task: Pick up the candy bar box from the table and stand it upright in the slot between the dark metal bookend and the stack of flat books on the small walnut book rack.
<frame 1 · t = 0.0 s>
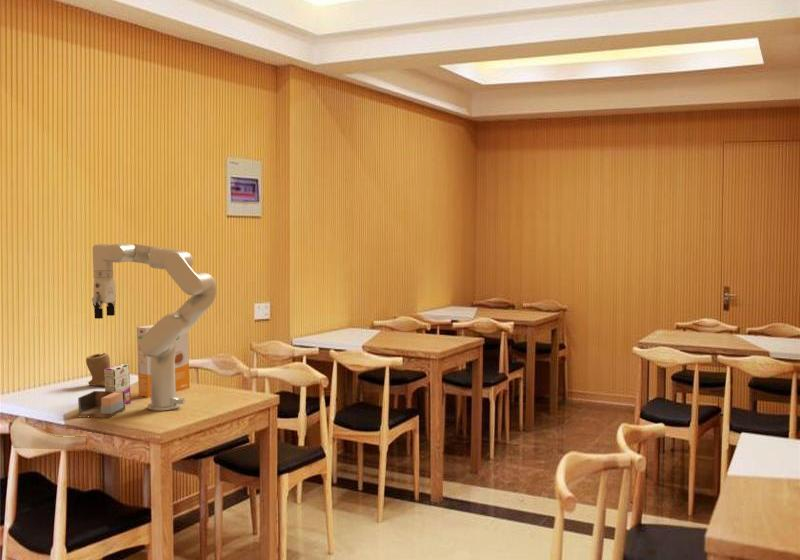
hand: (104, 316, 311), 37 cm above the table, tool pointing down, fingers open, 9 cm apart
candy bar box: (118, 406, 314), on the table
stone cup: (103, 386, 354), on the table
cereal box: (164, 392, 340), on the table
book rack: (102, 413, 301), on the table
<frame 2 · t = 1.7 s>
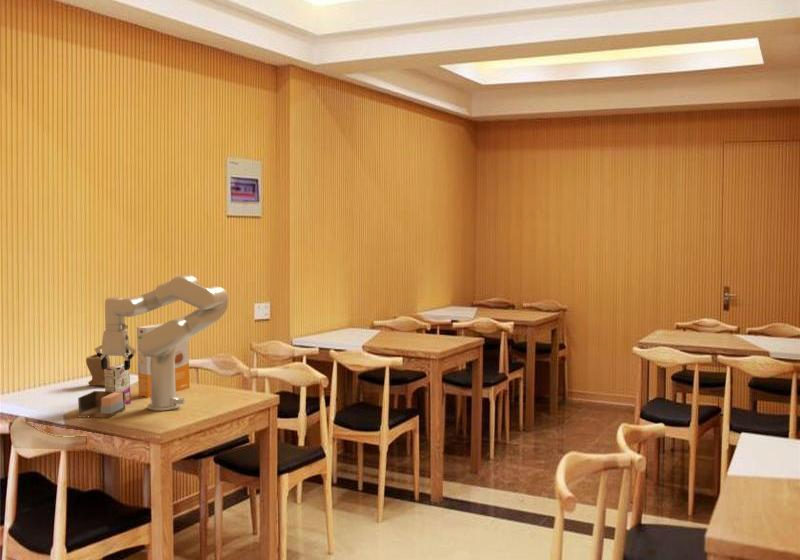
hand: (115, 369, 313), 15 cm above the table, tool pointing down, fingers open, 9 cm apart
nothing on the table moved.
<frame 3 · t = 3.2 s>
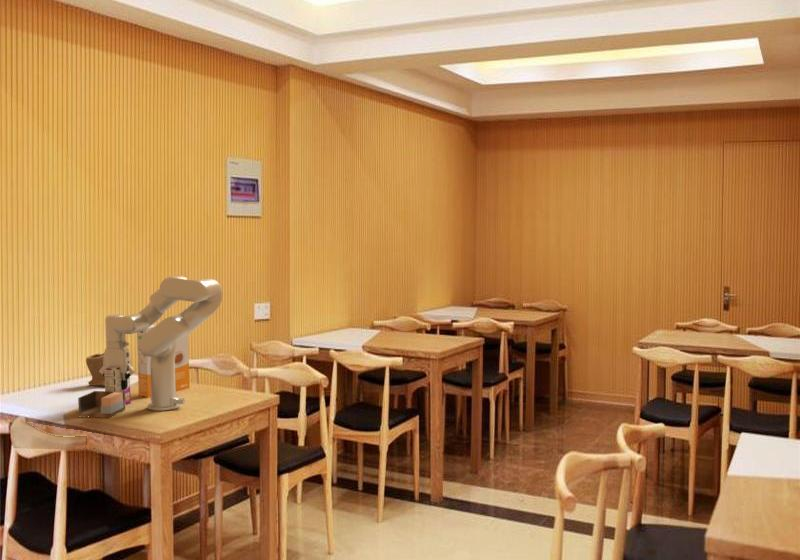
hand: (117, 388, 314), 7 cm above the table, tool pointing down, fingers closed on candy bar box, 5 cm apart
candy bar box: (118, 406, 314), on the table, touching gripper
everything else where it was.
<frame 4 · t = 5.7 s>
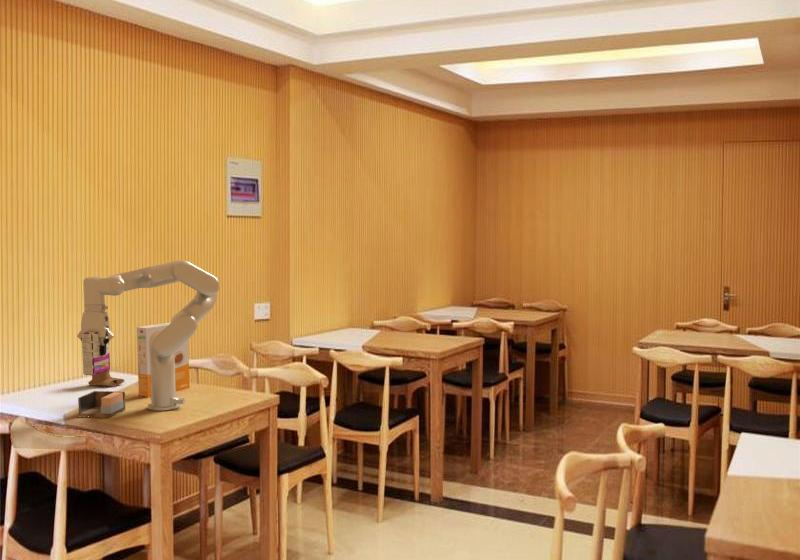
hand: (96, 354, 299), 23 cm above the table, tool pointing down, fingers closed on candy bar box, 5 cm apart
candy bar box: (96, 372, 300), point 16 cm above the table, touching gripper
everything else where it was.
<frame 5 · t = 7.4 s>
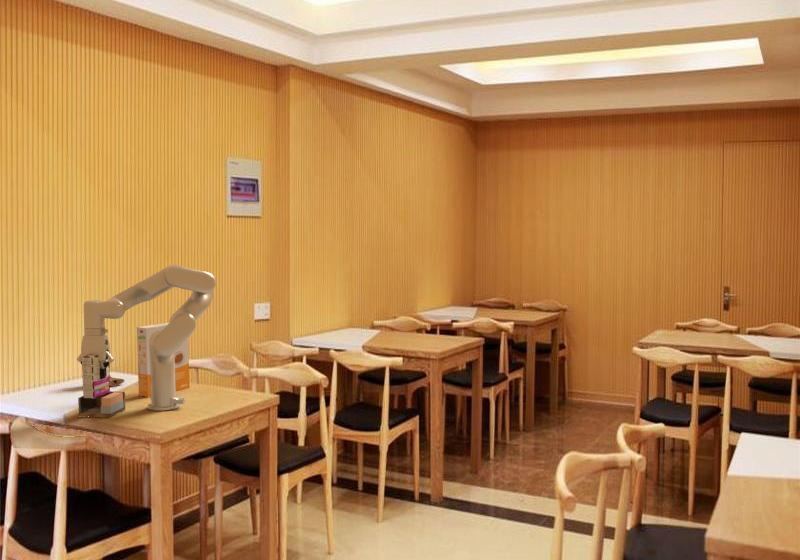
hand: (96, 377, 300), 14 cm above the table, tool pointing down, fingers closed on candy bar box, 5 cm apart
candy bar box: (96, 396, 300), point 7 cm above the table, touching gripper
everything else where it was.
when the fingers open (10 cm above the table, at t = 8.7 s): candy bar box drops 1 cm, resting on book rack.
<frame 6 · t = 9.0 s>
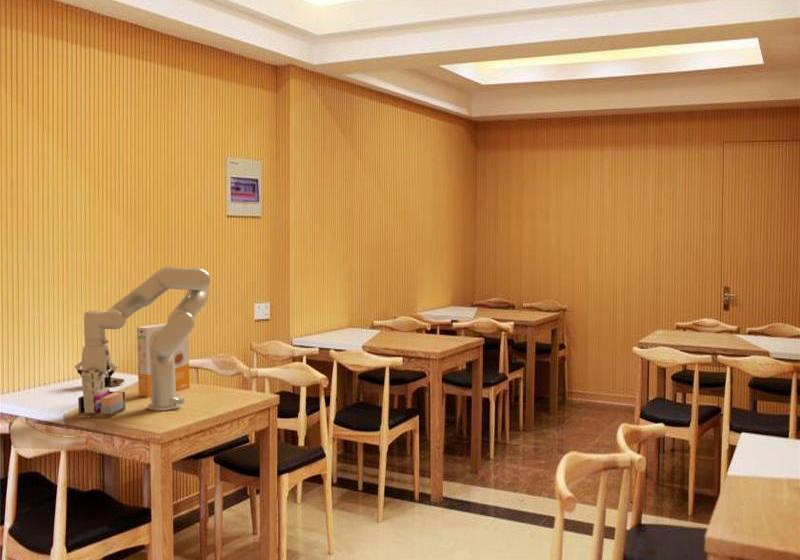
hand: (96, 386, 300), 11 cm above the table, tool pointing down, fingers open, 8 cm apart
candy bar box: (97, 410, 301), point 1 cm above the table, touching book rack
everything else where it was.
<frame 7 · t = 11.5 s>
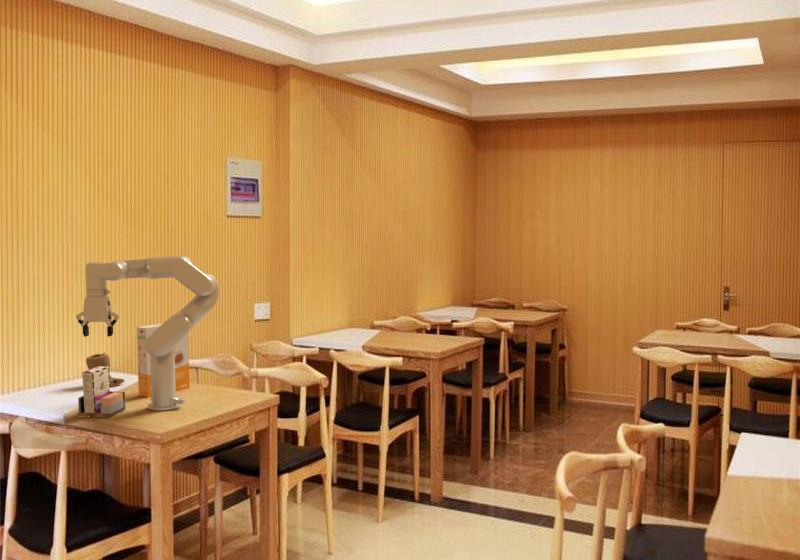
hand: (98, 336, 306), 30 cm above the table, tool pointing down, fingers open, 9 cm apart
nothing on the table moved.
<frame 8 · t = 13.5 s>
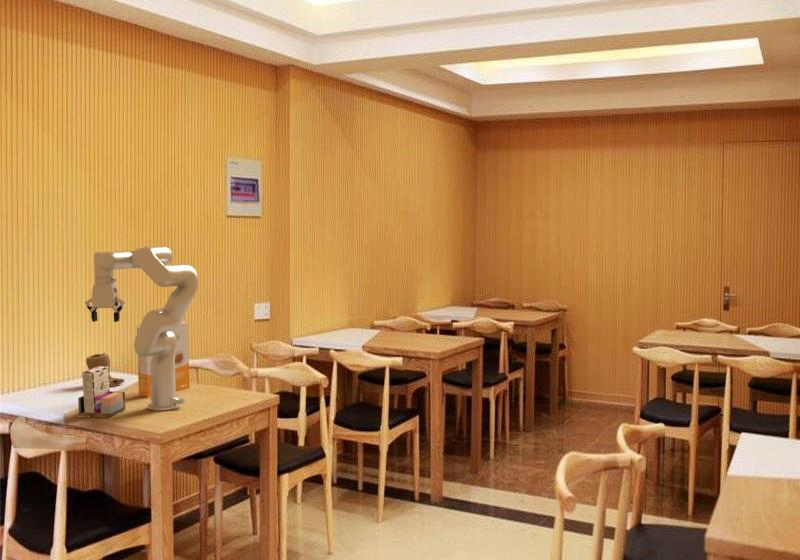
hand: (105, 321, 324), 33 cm above the table, tool pointing down, fingers open, 9 cm apart
nothing on the table moved.
at the end: candy bar box 0.1 cm from the target spot on the book rack, point 1.3 cm above the book rack's base; candy bar box tilted 0°; the gripper is holding nothing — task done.
